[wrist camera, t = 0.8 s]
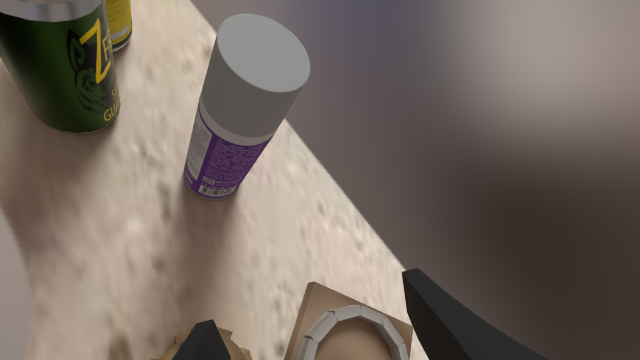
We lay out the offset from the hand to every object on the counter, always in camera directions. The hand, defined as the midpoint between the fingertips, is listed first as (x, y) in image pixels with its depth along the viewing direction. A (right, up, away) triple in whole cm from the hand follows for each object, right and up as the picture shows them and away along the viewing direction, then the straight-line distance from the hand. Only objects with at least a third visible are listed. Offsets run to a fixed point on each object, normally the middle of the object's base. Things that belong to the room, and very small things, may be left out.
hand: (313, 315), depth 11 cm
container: (-9, +5, +15) cm, 18 cm away
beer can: (-18, +11, +12) cm, 24 cm away
